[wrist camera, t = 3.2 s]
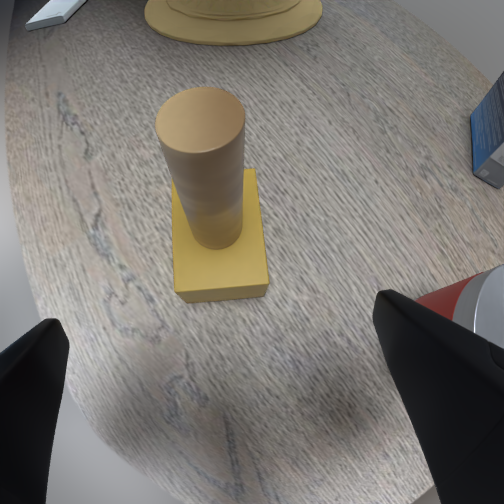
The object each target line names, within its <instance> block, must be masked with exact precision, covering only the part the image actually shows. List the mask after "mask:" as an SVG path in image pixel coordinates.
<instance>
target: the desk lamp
mask: <svg viewBox="0 0 504 504" xmlns="http://www.w3.org/2000/svg"><path fill="white" fill-rule="evenodd" d="M144 10H145V20H146V21H147V23H148V24H149V26H150V27H151V28H152V29H153V30H155V31H156V32H158V33H159V34H161V35H163V36H166V37H169V38H171V39H174V40H177V41H183V42H188V43H194V44H203V45H217V46H231V45H252V44H261V43H270V42H274V41H279V40H284V39H288V38H291V37H294V36H296V35H299V34H302V33H305V32H306V31H308V30H309V29H310V28H312V27H314V26H315V25H316V24H317V22H318V21H319V19H320V18H321V15H322V4H321V2H320V0H149V1H148V2H147V5H146V7H145V9H144Z"/></svg>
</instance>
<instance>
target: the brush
mask: <svg viewBox="0 0 504 504" xmlns="http://www.w3.org/2000/svg"><path fill="white" fill-rule="evenodd" d="M155 129H156V133H157V136H158V139H159V142H160V145H161V148H162V151H163V154H164V157H165V159H166V162H167V165H168V168H169V171H170V174H171V177H172V244H173V272H174V291H175V293H176V294H177V295H178V296H179V297H181V298H182V299H183V300H184V301H185V302H186V303H198V302H210V301H222V300H233V299H244V298H254V297H263V296H264V295H265V292H266V290H267V288H268V285H269V275H268V267H267V258H266V250H265V242H264V234H263V226H262V218H261V210H260V202H259V195H258V187H257V179H256V172H255V169H254V168H253V169H244V144H245V111H244V108H243V106H242V104H241V102H240V101H239V100H238V99H237V98H236V97H235V96H234V95H232V94H231V93H229V92H227V91H225V90H222V89H219V88H214V87H196V88H191V89H187V90H184V91H182V92H179V93H177V94H176V95H174V96H172V97H171V98H170V99H168V100H167V101H166V102H165V103H164V104H163V105H162V107H161V108H160V110H159V112H158V114H157V117H156V121H155Z"/></svg>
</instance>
